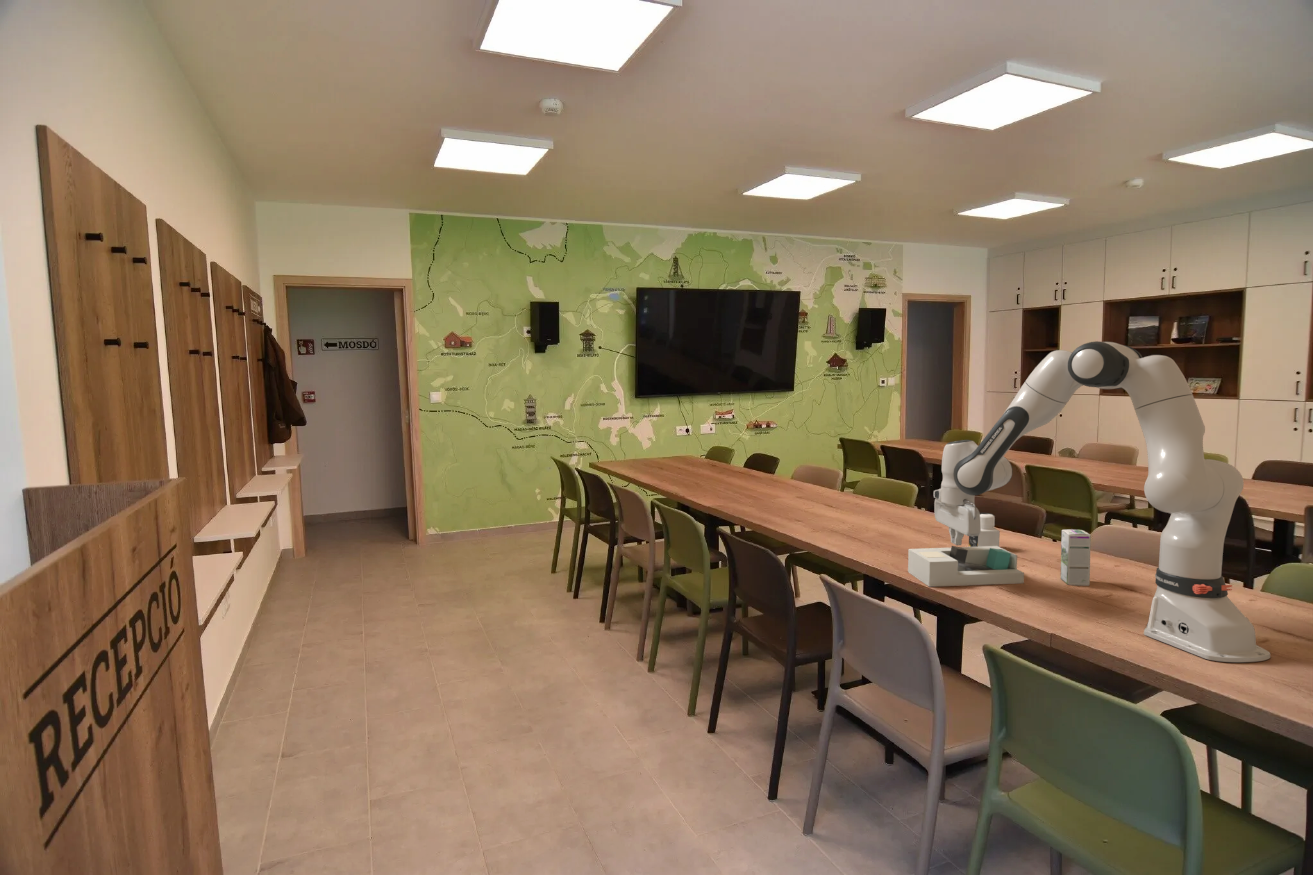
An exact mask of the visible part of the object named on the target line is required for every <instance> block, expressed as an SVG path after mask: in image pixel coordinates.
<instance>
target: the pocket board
mask: <svg viewBox="0 0 1313 875" xmlns="http://www.w3.org/2000/svg"><path fill="white" fill-rule="evenodd" d="M961 547H962V548H964V549H966V550H968V552H967V556H966V561H965V562H968V563H974V564H980V565H986V563H987V559H988V554H989V550H990V548H994V549H999V550H1004V551H1006V552H1008V553H1010V554H1011V555H1010V559H1009V563H1008V568H1007V569H1006V570H978V569H972V568H966V567H960V566H958V561H957V560H955V559H953V558H952V557H950V551H951V547H929V548H925V547H924V548H908V554H907V555H908V556H907V557H908V559H907V560H908V563H907V564H908V565H907V572H908V573H909V574H910V575H912V576H913V577H915V578H916V579H917V580H919V581H920V582H922V583H923V584H924V585H926V586H928V587H956V586H957V587H958V586H959V587H960V586H985V585H986V586H987V585H1009V584H1011V585H1012V584H1025V582H1024V581H1025V572H1023V571H1021V570H1019V569H1018V555H1017V554H1015V553H1014V552H1011V551H1008V550H1006V549H1005V548H1002V547H1000V546H999V547H998V546H981V547H969V546H961ZM986 566H987V565H986Z"/></svg>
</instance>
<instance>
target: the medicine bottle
mask: <svg viewBox="0 0 1313 875" xmlns="http://www.w3.org/2000/svg"><path fill="white" fill-rule="evenodd" d="M979 513H980V526H981V531H980V534H979V536H968V547H981V546H998V547H1000V536H1001V535H1000V534H1001V533H1000V530H999V529H997V528H995V525H996V524H995V521H996V520H995V519H996V518H995V517H996V516H995V515H994V514H993V513H989V512H979Z"/></svg>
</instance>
